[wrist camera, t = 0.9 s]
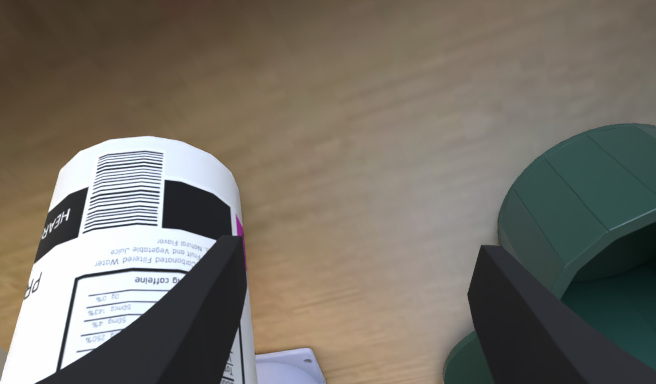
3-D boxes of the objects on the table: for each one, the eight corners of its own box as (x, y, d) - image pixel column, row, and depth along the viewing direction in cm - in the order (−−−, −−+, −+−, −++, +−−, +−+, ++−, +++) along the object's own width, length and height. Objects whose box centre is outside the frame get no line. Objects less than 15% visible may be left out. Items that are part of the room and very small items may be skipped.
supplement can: (263, 207, 24) (311, 547, 14) (132, 254, 25) (93, 607, 15) (184, 99, 18) (175, 572, 8) (13, 167, 18) (-182, 672, 9)
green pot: (685, 267, 25) (782, 363, 19) (501, 295, 26) (542, 391, 21) (725, 100, 19) (873, 167, 14) (492, 149, 21) (544, 226, 16)
